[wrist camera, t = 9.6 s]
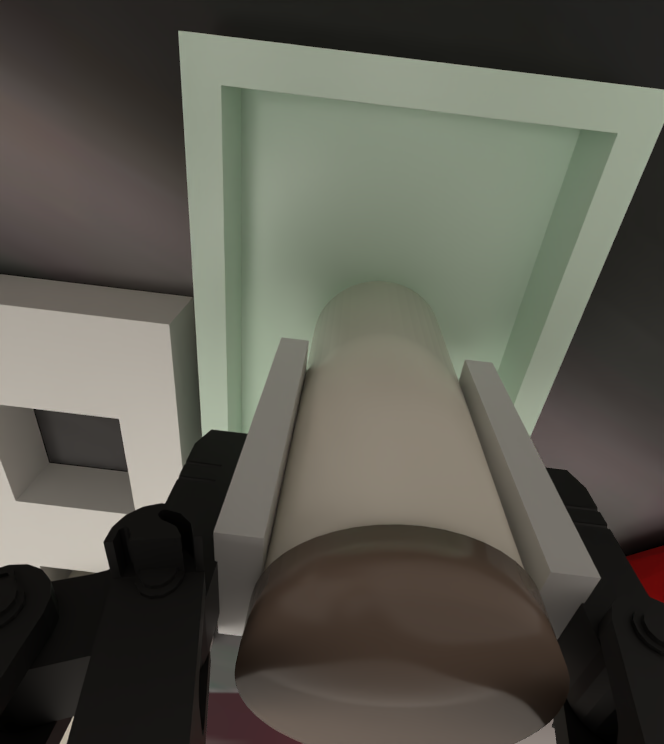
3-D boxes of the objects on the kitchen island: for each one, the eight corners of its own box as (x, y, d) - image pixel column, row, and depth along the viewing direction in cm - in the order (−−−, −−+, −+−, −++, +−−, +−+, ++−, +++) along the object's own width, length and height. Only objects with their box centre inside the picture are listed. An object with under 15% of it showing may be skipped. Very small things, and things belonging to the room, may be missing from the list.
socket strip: (-67, 266, 17) (-591, 463, 8) (193, 297, 17) (-13, 531, 8) (62, 621, 29) (-79, 863, 20) (213, 638, 30) (143, 889, 20)
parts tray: (211, 44, 13) (178, 30, 11) (619, 93, 13) (677, 91, 11) (223, 457, 21) (205, 502, 19) (474, 487, 21) (488, 535, 19)
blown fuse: (316, 270, 15) (233, 573, 5) (457, 286, 15) (631, 619, 5) (306, 388, 17) (235, 744, 8) (427, 402, 17) (509, 776, 8)
